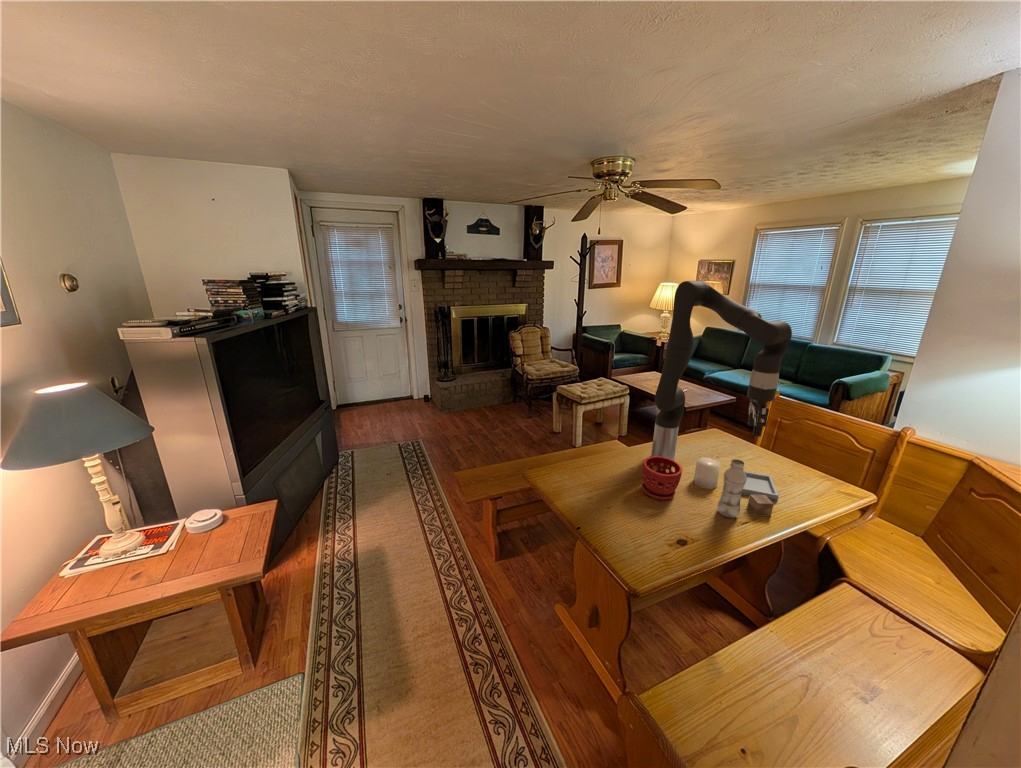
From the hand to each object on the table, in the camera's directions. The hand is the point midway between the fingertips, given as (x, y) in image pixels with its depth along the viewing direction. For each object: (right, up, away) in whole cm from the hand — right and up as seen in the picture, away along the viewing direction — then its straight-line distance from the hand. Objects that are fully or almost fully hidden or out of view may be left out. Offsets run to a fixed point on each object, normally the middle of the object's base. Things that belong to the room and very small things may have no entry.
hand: (753, 430), depth 124 cm
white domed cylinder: (-6, -23, +20) cm, 31 cm away
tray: (+11, -23, +18) cm, 31 cm away
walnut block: (+4, -28, +4) cm, 29 cm away
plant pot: (-26, -25, +14) cm, 39 cm away
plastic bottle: (-7, -29, +2) cm, 30 cm away
